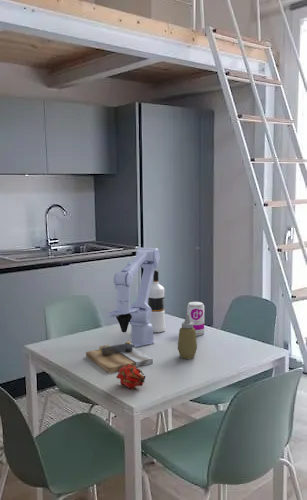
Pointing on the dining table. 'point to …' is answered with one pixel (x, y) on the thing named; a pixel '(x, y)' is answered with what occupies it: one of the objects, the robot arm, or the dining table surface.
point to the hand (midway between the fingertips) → (124, 331)
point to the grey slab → (118, 359)
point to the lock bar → (117, 348)
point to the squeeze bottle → (187, 339)
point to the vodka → (157, 305)
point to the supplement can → (196, 316)
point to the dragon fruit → (130, 376)
